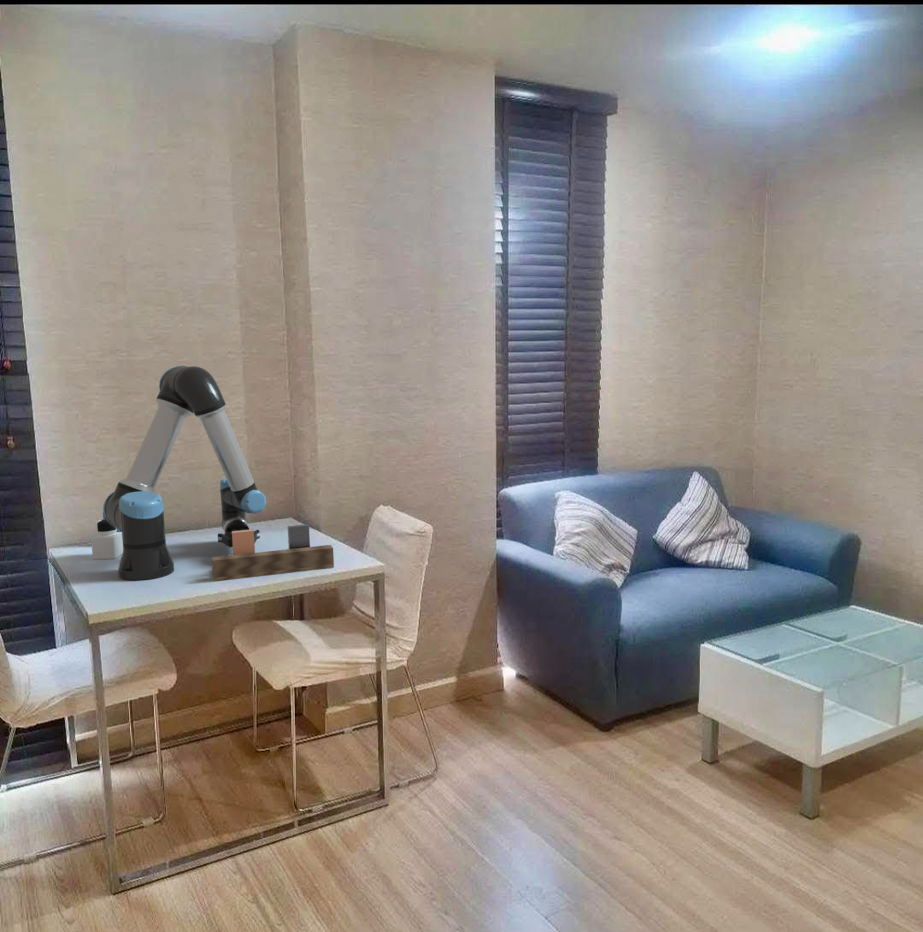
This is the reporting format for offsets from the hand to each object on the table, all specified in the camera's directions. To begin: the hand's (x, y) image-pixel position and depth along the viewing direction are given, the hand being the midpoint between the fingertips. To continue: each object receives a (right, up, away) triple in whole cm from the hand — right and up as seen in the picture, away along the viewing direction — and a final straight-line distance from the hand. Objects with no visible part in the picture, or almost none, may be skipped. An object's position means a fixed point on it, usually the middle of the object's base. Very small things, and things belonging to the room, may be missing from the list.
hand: (243, 547), depth 227 cm
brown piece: (+8, -7, +3) cm, 11 cm away
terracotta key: (0, -6, 0) cm, 6 cm away
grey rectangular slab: (+15, -5, +5) cm, 17 cm away
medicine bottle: (-49, -5, +21) cm, 53 cm away
